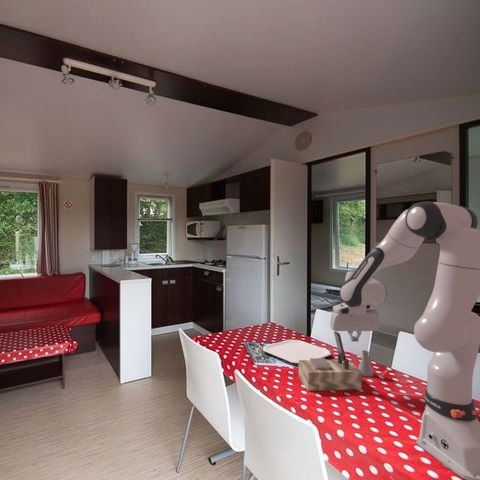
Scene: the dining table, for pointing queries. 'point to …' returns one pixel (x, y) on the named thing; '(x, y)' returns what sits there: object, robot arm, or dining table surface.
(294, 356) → the plate
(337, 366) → the socket block
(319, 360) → the steel pin
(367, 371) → the flask
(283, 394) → the dining table surface
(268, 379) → the dining table surface
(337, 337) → the latch bar
